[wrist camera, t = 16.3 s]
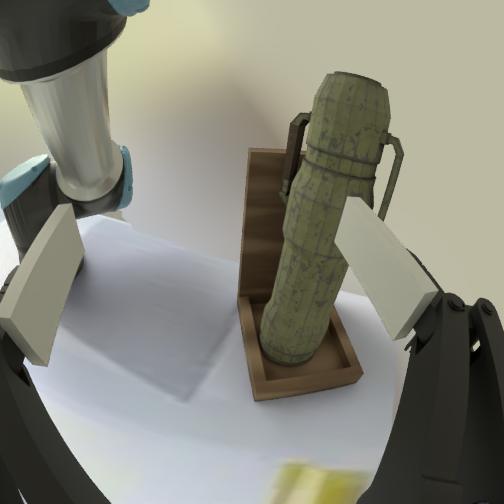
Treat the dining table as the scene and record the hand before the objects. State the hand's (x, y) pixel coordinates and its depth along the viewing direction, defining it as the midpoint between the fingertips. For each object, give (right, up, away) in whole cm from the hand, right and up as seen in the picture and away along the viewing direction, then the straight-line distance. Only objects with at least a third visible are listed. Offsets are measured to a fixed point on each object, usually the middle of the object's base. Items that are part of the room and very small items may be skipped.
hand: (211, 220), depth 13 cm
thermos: (+7, -15, +27) cm, 32 cm away
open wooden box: (+8, -15, +29) cm, 33 cm away
